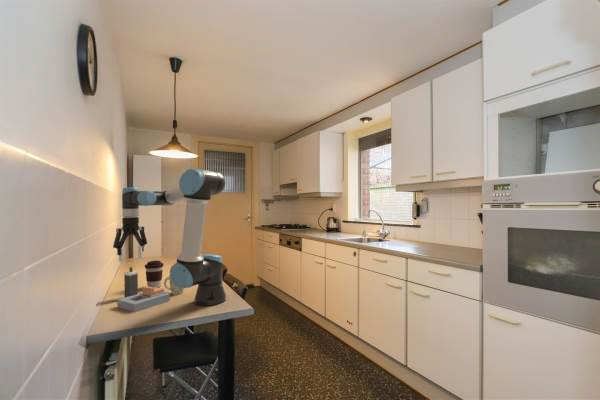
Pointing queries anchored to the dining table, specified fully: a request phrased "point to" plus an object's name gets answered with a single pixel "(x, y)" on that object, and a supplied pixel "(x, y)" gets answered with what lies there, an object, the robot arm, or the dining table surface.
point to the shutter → (151, 290)
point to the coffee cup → (154, 273)
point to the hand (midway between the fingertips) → (130, 259)
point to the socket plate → (142, 301)
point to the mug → (173, 287)
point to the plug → (131, 282)
